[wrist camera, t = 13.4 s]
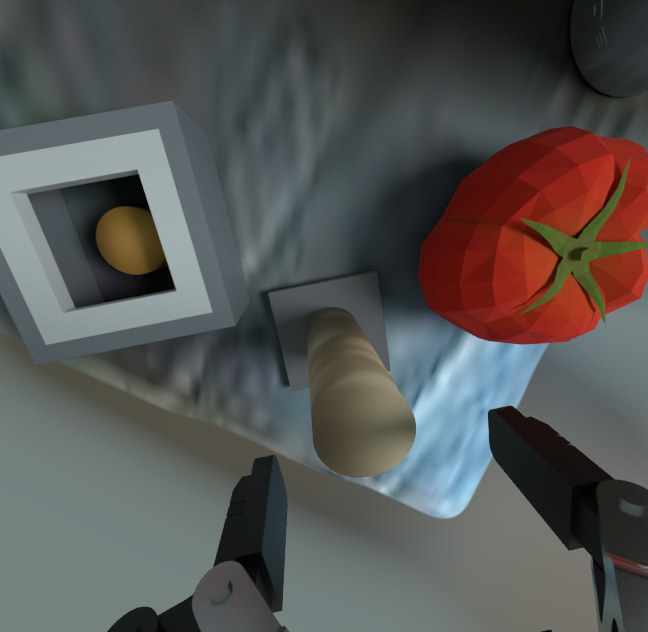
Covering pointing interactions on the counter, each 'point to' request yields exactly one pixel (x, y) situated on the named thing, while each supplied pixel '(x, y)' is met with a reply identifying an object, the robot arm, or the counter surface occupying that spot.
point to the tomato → (541, 239)
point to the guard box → (67, 251)
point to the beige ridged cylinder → (354, 399)
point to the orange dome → (130, 240)
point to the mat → (310, 298)
